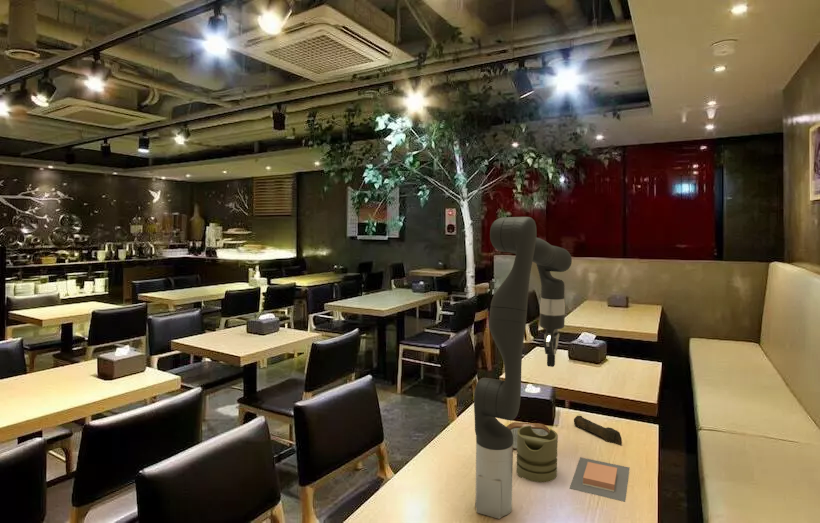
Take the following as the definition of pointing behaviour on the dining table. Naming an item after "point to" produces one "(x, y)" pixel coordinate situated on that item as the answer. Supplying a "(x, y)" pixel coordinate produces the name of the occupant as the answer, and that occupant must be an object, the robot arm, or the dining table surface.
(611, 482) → the tile
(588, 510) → the dining table surface
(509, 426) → the tin
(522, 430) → the piston
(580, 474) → the mat
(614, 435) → the hand tool
